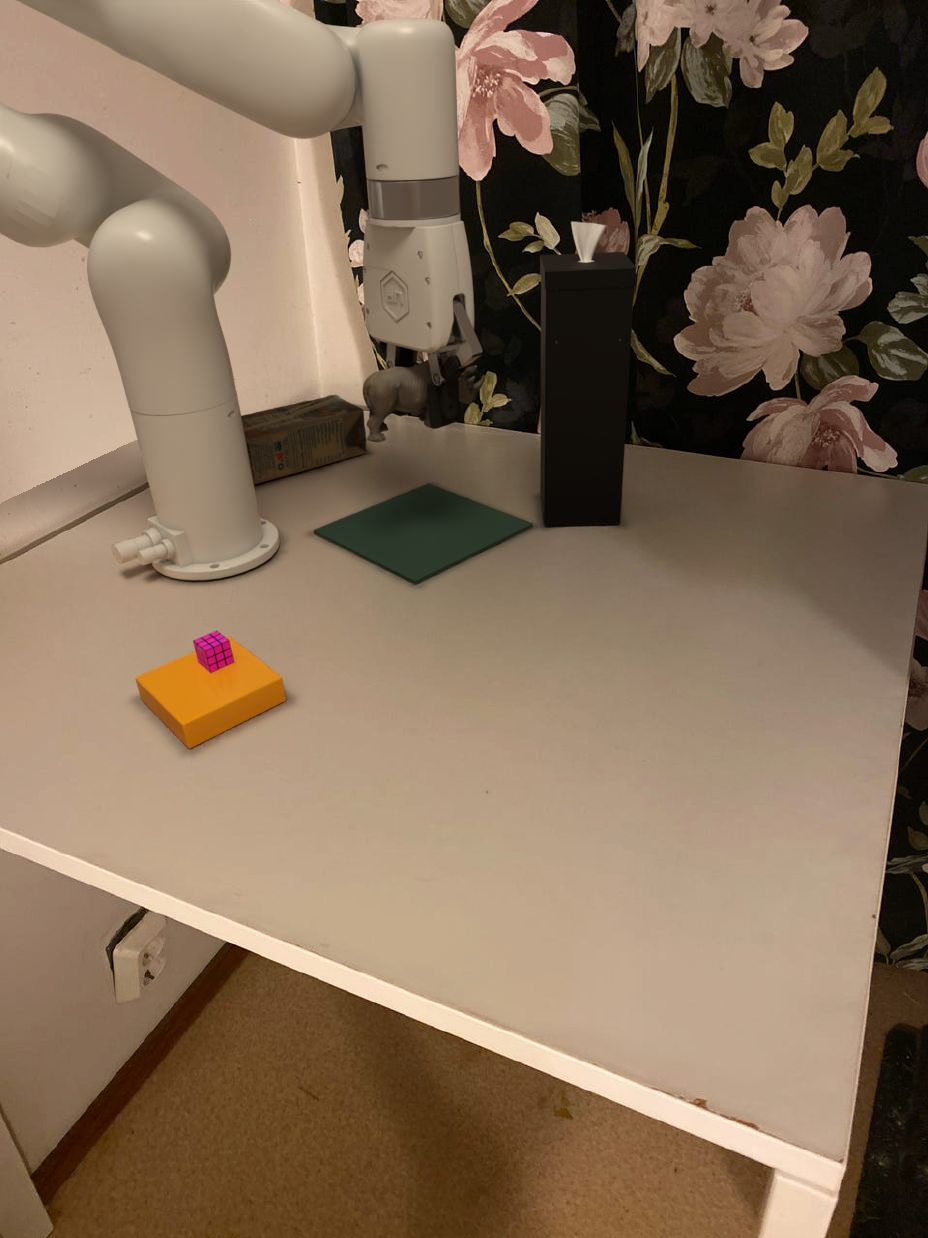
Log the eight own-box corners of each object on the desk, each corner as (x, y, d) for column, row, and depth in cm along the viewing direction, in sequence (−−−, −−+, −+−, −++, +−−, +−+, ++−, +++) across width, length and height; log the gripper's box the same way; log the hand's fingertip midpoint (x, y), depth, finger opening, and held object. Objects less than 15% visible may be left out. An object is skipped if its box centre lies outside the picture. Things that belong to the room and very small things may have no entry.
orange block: (287, 700, 65) (278, 654, 63) (189, 749, 61) (175, 701, 58) (235, 658, 70) (225, 613, 68) (141, 700, 66) (127, 654, 64)
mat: (415, 584, 79) (415, 580, 79) (313, 533, 89) (313, 529, 89) (533, 526, 88) (533, 523, 88) (428, 486, 98) (428, 482, 98)
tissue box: (620, 525, 88) (638, 225, 73) (543, 528, 88) (545, 229, 73) (611, 494, 94) (625, 213, 80) (539, 496, 95) (540, 216, 80)
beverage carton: (371, 454, 108) (366, 402, 104) (227, 497, 98) (215, 441, 95) (340, 437, 113) (333, 387, 110) (200, 476, 104) (188, 423, 100)
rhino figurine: (499, 413, 83) (499, 350, 79) (376, 447, 76) (370, 379, 73) (474, 403, 86) (473, 341, 82) (353, 434, 79) (346, 368, 76)
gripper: (317, 200, 74) (340, 409, 84) (450, 214, 63) (459, 451, 73) (385, 191, 78) (400, 391, 88) (520, 203, 68) (520, 428, 77)
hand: (426, 416), depth 80 cm, fingers closed on rhino figurine, 4 cm apart
